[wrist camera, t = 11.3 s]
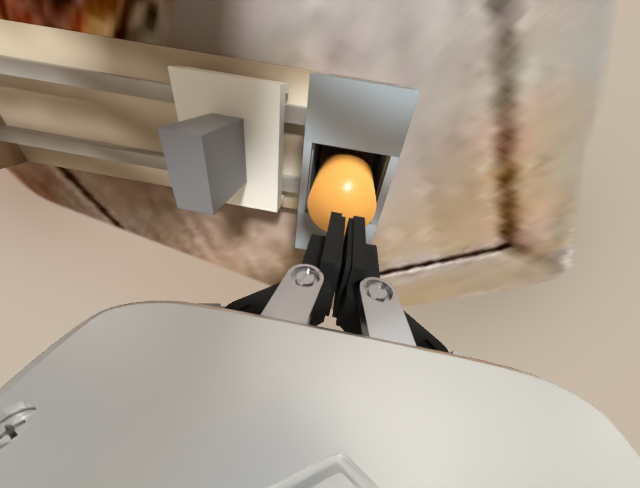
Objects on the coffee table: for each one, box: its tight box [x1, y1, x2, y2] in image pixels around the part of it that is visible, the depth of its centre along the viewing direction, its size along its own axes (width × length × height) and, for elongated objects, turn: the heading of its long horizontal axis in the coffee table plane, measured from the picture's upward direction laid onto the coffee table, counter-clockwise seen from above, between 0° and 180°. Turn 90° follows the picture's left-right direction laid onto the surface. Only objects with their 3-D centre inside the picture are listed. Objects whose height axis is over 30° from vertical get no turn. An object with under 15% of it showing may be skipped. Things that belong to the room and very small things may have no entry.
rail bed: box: [0, 19, 420, 250], centre depth 20 cm, size 12×39×8 cm, turn 82°
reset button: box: [308, 149, 377, 235], centre depth 16 cm, size 4×4×5 cm
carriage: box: [157, 66, 289, 215], centre depth 18 cm, size 10×8×8 cm
